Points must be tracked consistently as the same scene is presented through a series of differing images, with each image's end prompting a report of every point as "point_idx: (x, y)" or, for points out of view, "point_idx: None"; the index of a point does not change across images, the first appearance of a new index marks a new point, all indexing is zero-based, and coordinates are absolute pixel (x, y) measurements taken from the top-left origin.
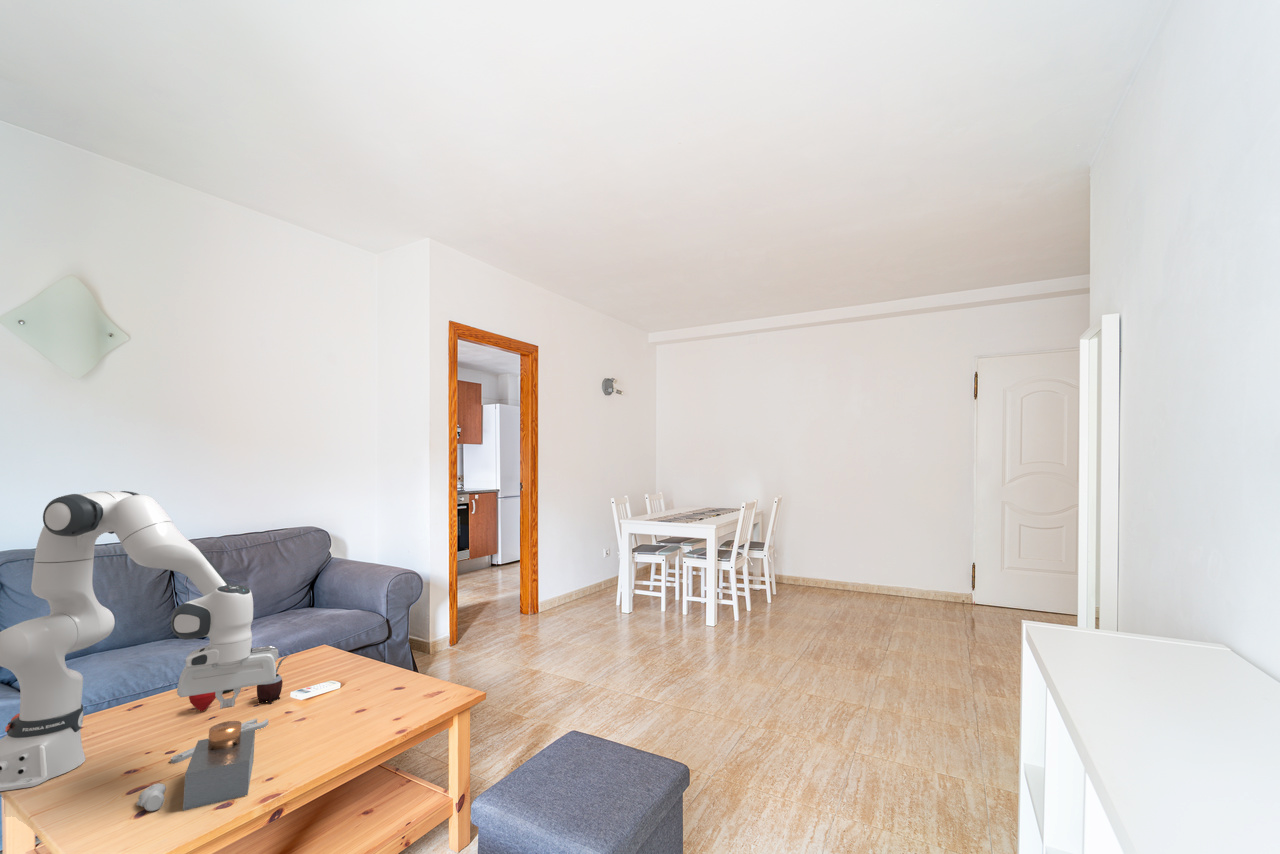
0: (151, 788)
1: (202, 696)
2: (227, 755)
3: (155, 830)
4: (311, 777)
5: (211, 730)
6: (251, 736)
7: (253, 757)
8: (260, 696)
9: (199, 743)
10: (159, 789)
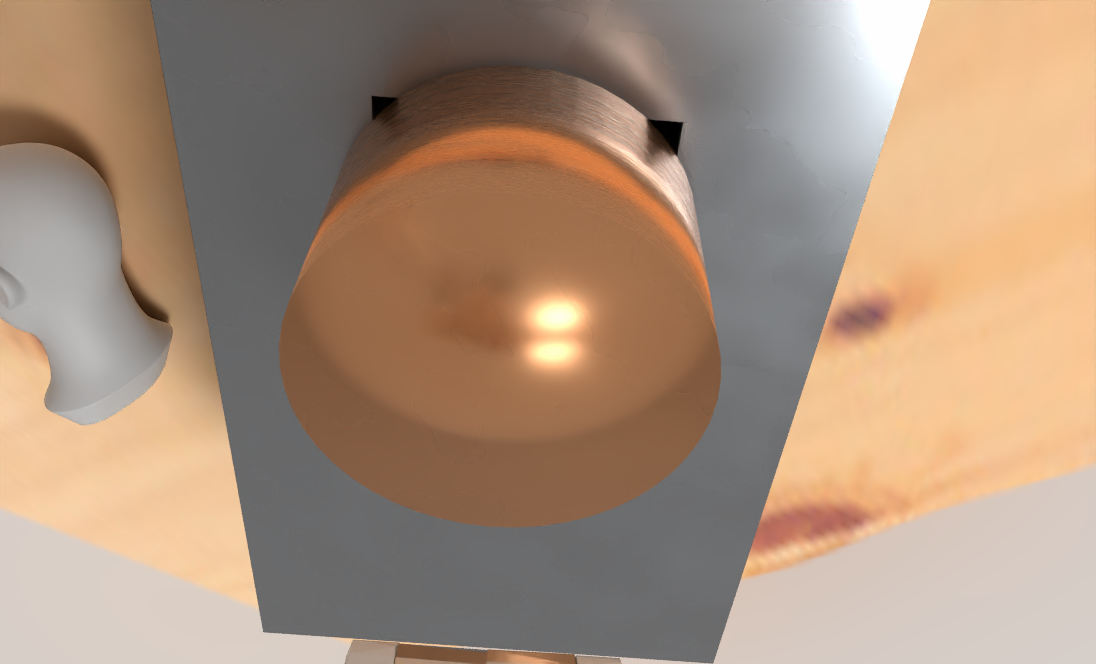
0: (12, 307)
1: None
2: (552, 524)
3: (232, 525)
4: (1092, 445)
5: (320, 411)
6: (827, 223)
7: None
8: None
9: (195, 67)
10: (79, 297)
